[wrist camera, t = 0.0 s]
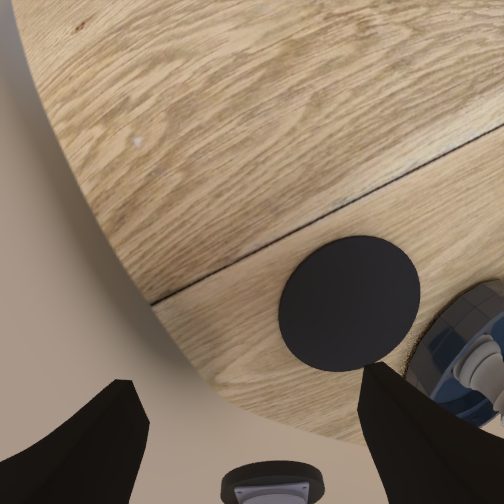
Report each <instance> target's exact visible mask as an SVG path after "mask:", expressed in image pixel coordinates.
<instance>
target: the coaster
mask: <svg viewBox="0 0 504 504" xmlns="http://www.w3.org/2000/svg"><path fill="white" fill-rule="evenodd" d="M419 303H420V282H419V277H418V274H417V271H416V269H415V267H414V265H413V263H412V261H411V260H410V259H409V257H408V256H407V255H406V254H405V253H404V252H403V251H402V250H401V249H399V248H398V247H397V246H395V245H394V244H392V243H390V242H388V241H386V240H384V239H380V238H377V237H371V236H351V237H345V238H342V239H338V240H335V241H333V242H330V243H328V244H326V245H324V246H322V247H321V248H319V249H317V250H316V251H314V252H313V253H312V254H310V255H309V256H308V257H307V258H306V259H305V260H304V261H303V262H302V263H301V264H299V266H298V267H297V268H296V269H295V271H294V272H293V273H292V275H291V277H290V278H289V280H288V281H287V283H286V286H285V288H284V290H283V293H282V296H281V299H280V305H279V325H280V330H281V334H282V337H283V339H284V341H285V343H286V345H287V347H288V348H289V350H290V351H291V352H292V353H293V354H294V355H295V356H296V357H297V358H298V359H299V360H301V361H302V362H303V363H305V364H307V365H309V366H311V367H313V368H316V369H319V370H323V371H330V372H345V371H352V370H356V369H360V368H363V367H364V365H367V364H372V363H375V362H376V361H378V360H380V359H382V358H383V357H385V356H386V355H387V354H389V353H390V352H391V351H392V350H393V349H394V348H396V347H397V345H398V344H399V343H400V342H401V341H402V340H403V339H404V337H405V336H406V335H407V333H408V332H409V330H410V328H411V327H412V325H413V322H414V320H415V318H416V315H417V312H418V308H419Z"/></svg>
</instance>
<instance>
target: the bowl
mask: <svg viewBox="0 0 504 504" xmlns="http://www.w3.org/2000/svg"><path fill="white" fill-rule="evenodd" d="M481 335H490V336H491V337H492V338H493V340H494V341H496V343H497V344H498V345H499V347H500V349H501V355H502V357H503V362H504V281H503V280H494V281H490V282H485V283H482V284H479V285H478V286H476V287H475V288H473V289H471V290H470V291H468V292H467V293H465V294H463V295H462V296H460V297H459V298H458V299H457V300H456V301H455V302H454V303H453V304H452V305H451V306H450V307H449V308H448V309H447V310H446V311H445V312H443V313H442V314H441V315H440V317H439V318H438V319H437V320H436V322H435V323H434V324H433V326H432V327H431V328H430V330H429V331H428V332H427V334H426V335H425V336H424V337H423V339H422V340H421V342H420V344H419V346H418V348H417V350H416V352H415V353H414V355H413V357H412V359H411V361H410V363H409V366H408V370H407V374H406V378H405V380H407V381H408V382H409V383H410V384H412V385H413V386H414V387H416V388H417V389H418V390H419V391H421V392H422V393H423V394H425V395H426V396H427V397H429V398H430V399H432V400H433V401H434V402H436V403H437V404H439V405H440V406H442V407H443V408H445V409H446V410H448V411H449V412H451V413H453V414H454V415H456V416H457V417H459V418H461V419H463V420H464V421H466V422H468V423H470V424H472V425H474V426H476V427H478V428H481V427H483V426H484V425H486V424H487V423H489V422H490V421H491V420H493V419H494V418H495V417H496V416H497V415H499V414H500V412H499V411H494V410H493V404H492V403H491V401H490V400H489V399H488V398H487V397H486V396H485V395H483V394H482V393H481V392H479V391H478V390H473V389H472V388H466V387H464V386H463V385H462V384H460V381H458V380H457V379H456V378H454V373H453V367H454V366H455V365H456V364H457V362H458V361H459V360H460V359H461V357H462V356H463V355H464V354H465V352H466V351H467V350H468V348H469V347H470V346H471V345H472V344H473V343H474V342H475V341H476V340H477V339H478V338H479V337H480V336H481Z"/></svg>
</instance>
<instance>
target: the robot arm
mask: <svg viewBox="0 0 504 504" xmlns="http://www.w3.org/2000/svg"><path fill="white" fill-rule="evenodd" d="M357 411H358V415H359V419H360V424H361V427H362V431H363V435H364V438H365V440H366V443H367V445H368V448H369V450H370V453H371V456H372V458H373V461H374V463H375V465H376V468H377V470H378V473H379V476H380V478H381V481H382V483H383V486H384V488H385V491H386V495H387V497H388V502H389V504H504V439H503V438H500V437H498V436H495V435H493V434H490V433H488V432H486V431H484V430H482V429H480V428H478V427H476V426H474V425H472V424H470V423H468V422H466V421H464V420H463V419H461V418H459V417H457V416H456V415H454V414H453V413H451V412H449V411H448V410H446V409H445V408H443V407H442V406H440V405H439V404H437V403H436V402H434V401H433V400H432V399H430V398H429V397H427V396H426V395H425V394H423V393H422V392H421V391H419V390H418V389H417V388H416V387H414V386H413V385H412V384H410V383H409V382H408V381H407V380H405V379H404V378H403V377H402V376H400V375H399V374H398V373H397V372H395V371H394V370H393V369H392V368H390V367H389V366H388V365H387V364H385V363H384V362H383V361H382V362H377V363H372V364H367V365H364V371H363V378H362V384H361V391H360V396H359V402H358V408H357ZM149 424H150V422H149V419H148V417H147V416H146V413H145V411H144V408H143V406H142V404H141V401H140V399H139V397H138V394H137V392H136V390H135V387H134V385H133V382H132V380H118V379H115V380H114V381H113V382H111V383H110V384H109V385H108V386H107V387H105V388H104V389H103V390H102V391H101V392H100V393H98V394H97V395H96V396H95V397H94V398H93V399H92V400H90V401H89V402H88V403H87V404H86V405H85V406H83V407H82V408H81V409H80V410H79V411H78V412H77V413H75V414H74V415H73V416H72V417H71V418H69V419H68V420H67V421H65V422H64V423H63V424H62V425H61V426H59V427H58V428H56V429H55V430H54V431H53V432H51V433H50V434H49V435H47V436H46V437H44V438H43V439H41V440H40V441H38V442H37V443H35V444H34V445H32V446H31V447H29V448H27V449H25V450H24V451H22V452H20V453H18V454H16V455H14V456H12V457H10V458H7V459H6V460H3V461H1V462H0V504H129V499H130V496H131V493H132V490H133V486H134V483H135V480H136V477H137V474H138V471H139V468H140V464H141V461H142V458H143V455H144V451H145V448H146V442H147V436H148V431H149ZM234 491H235V494H236V497H237V500H238V502H239V504H307V500H308V492H309V482H307V481H304V482H296V483H286V484H275V485H260V486H237V487H235V488H234Z"/></svg>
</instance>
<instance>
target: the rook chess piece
mask: <svg viewBox="0 0 504 504" xmlns="http://www.w3.org/2000/svg"><path fill="white" fill-rule="evenodd" d="M453 373H454V378H456V379H457V380H458V381H460V384H462V385H463V386H464V387H466V388H472V389H473V390H478V391H479V392H481V393H482V394H483V395H485V396H486V397H487V398H488V399H489V400H490V401H491V403H492V404H493V410H494V411H499V412H500V414H501V425H502V426H504V362H503V357H502V355H501V349H500V347H499V345H498V344H497V343H496V341H494V340H493V338H492V337H491V336H490V335H481V336H480V337H479V338H478V339H477V340H476V341H475V342H474V343H473V344H472V345H471V346H470V347H469V348H468V350H467V351H466V352H465V354H464V355H463V356H462V357H461V359H460V360H459V361H458V362H457V364H456V365H455V366H454V367H453Z"/></svg>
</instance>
